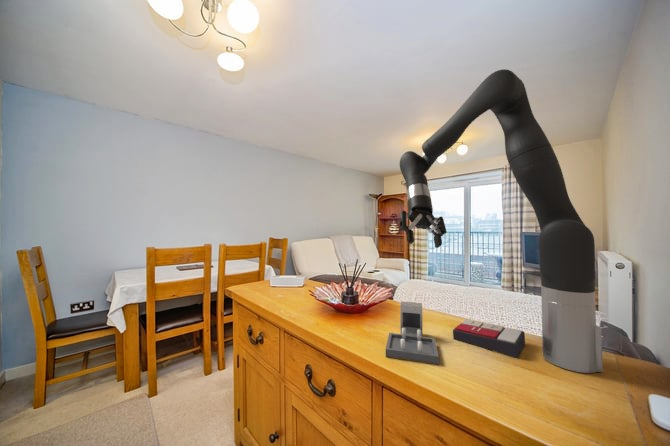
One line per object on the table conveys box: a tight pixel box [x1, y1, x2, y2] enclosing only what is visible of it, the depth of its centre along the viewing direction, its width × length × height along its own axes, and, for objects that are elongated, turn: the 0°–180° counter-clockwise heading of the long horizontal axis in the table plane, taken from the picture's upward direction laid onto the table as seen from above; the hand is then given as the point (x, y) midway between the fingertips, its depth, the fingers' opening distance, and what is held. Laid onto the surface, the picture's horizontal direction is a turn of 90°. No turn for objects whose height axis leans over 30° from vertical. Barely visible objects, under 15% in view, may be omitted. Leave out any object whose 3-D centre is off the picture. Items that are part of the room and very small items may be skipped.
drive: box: [399, 300, 424, 337], centre depth 73 cm, size 6×4×9 cm
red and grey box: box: [452, 318, 526, 360], centre depth 69 cm, size 11×4×15 cm
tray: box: [385, 328, 440, 365], centre depth 63 cm, size 12×10×4 cm
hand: (425, 244), depth 74 cm, fingers open, 8 cm apart
